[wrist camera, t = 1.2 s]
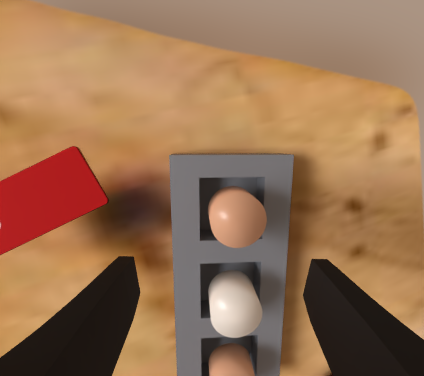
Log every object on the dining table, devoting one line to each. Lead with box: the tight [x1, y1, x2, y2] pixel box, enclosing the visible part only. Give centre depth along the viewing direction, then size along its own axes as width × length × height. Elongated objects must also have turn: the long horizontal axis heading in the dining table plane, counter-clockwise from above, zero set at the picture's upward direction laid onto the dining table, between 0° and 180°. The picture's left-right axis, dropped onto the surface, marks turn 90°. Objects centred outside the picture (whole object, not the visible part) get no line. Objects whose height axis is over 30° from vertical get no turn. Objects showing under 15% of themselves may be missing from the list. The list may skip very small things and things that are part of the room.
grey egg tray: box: [169, 154, 294, 376], centre depth 22 cm, size 24×10×3 cm, turn 0°
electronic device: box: [0, 146, 108, 255], centre depth 21 cm, size 6×1×15 cm
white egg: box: [208, 270, 262, 338], centre depth 19 cm, size 4×4×3 cm
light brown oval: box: [208, 186, 267, 248], centre depth 17 cm, size 4×4×3 cm
